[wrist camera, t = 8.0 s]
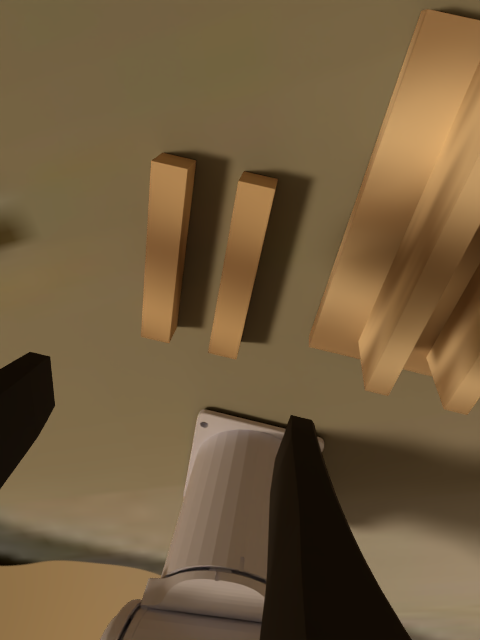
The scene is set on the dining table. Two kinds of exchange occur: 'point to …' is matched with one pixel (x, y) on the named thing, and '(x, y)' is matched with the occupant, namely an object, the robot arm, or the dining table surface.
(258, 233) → the stand
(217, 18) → the dining table surface
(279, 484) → the robot arm
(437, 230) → the rack
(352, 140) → the dining table surface
